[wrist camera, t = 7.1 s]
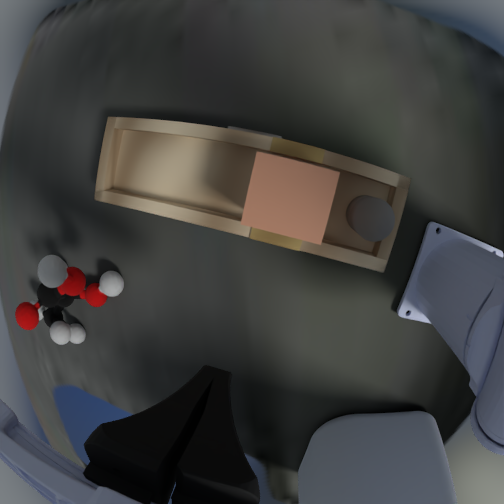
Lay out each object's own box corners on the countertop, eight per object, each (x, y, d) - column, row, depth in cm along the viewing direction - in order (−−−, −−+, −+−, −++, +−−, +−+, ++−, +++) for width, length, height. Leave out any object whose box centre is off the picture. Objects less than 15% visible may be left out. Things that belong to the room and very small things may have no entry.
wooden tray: (391, 171, 18) (420, 170, 13) (366, 261, 20) (386, 287, 15) (137, 118, 20) (99, 107, 15) (122, 200, 22) (83, 208, 17)
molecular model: (112, 318, 30) (61, 378, 22) (67, 272, 29) (13, 325, 21) (144, 253, 20) (49, 350, 12) (76, 185, 19) (-22, 256, 11)
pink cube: (330, 173, 16) (340, 172, 12) (315, 231, 17) (320, 245, 13) (264, 157, 16) (256, 151, 13) (251, 214, 17) (240, 224, 14)
